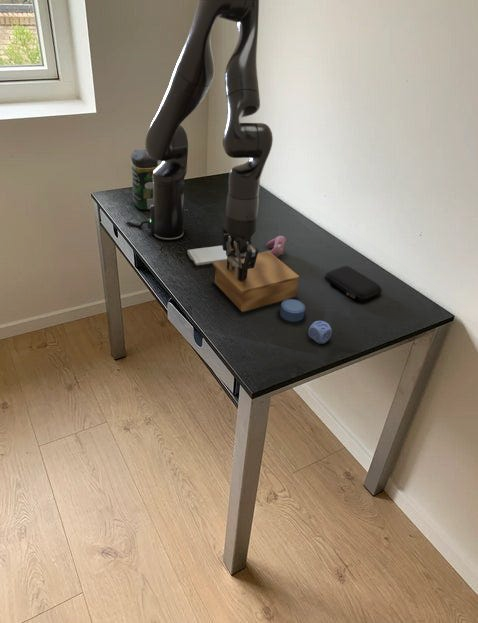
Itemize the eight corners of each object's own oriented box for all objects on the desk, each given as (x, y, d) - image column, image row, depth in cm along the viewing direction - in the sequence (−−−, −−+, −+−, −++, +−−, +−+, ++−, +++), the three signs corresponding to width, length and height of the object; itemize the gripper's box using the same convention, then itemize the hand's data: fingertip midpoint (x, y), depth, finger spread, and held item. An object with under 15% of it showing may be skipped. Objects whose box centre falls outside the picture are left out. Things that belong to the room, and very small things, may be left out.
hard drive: (226, 244, 147) (187, 248, 142) (236, 257, 141) (196, 262, 136) (226, 249, 147) (187, 253, 143) (236, 262, 142) (196, 267, 137)
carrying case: (318, 280, 137) (357, 306, 128) (320, 271, 135) (360, 297, 126) (344, 271, 142) (383, 295, 133) (346, 262, 141) (386, 286, 132)
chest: (241, 314, 121) (244, 293, 117) (214, 285, 131) (215, 264, 127) (295, 299, 128) (298, 279, 125) (265, 272, 138) (268, 253, 134)
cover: (241, 294, 117) (243, 276, 114) (212, 265, 126) (214, 248, 124) (298, 278, 125) (302, 262, 122) (268, 253, 134) (270, 237, 131)
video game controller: (273, 267, 144) (286, 251, 140) (260, 259, 143) (273, 242, 139) (277, 252, 152) (290, 236, 148) (265, 244, 151) (278, 227, 147)
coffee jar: (130, 201, 170) (127, 148, 159) (151, 198, 173) (150, 146, 162) (139, 212, 163) (137, 158, 152) (161, 209, 166) (160, 156, 155)
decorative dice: (317, 331, 118) (320, 318, 115) (330, 340, 115) (333, 326, 113) (306, 337, 115) (309, 324, 113) (319, 346, 113) (322, 332, 111)
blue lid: (277, 321, 120) (279, 309, 118) (281, 307, 125) (283, 296, 122) (301, 326, 119) (303, 314, 117) (304, 312, 124) (306, 301, 122)
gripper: (212, 202, 116) (210, 263, 126) (243, 227, 106) (238, 292, 116) (239, 198, 119) (235, 258, 129) (272, 222, 109) (264, 285, 119)
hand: (236, 273), depth 122 cm, fingers closed on cover, 5 cm apart
